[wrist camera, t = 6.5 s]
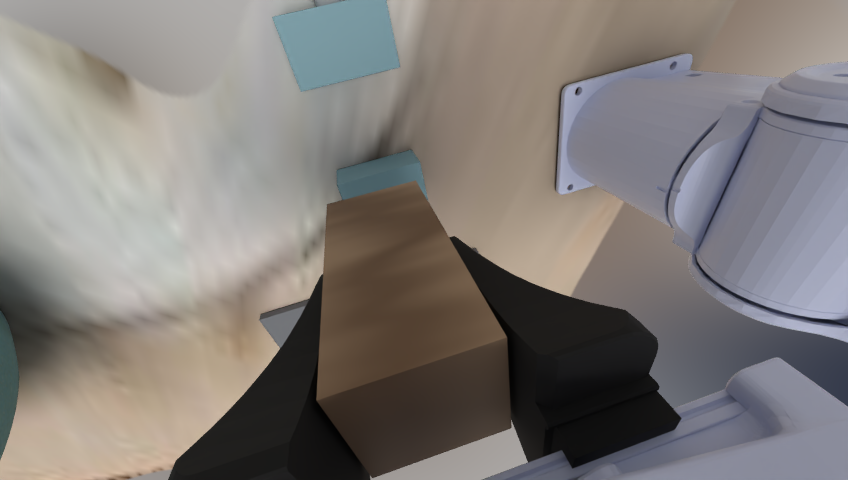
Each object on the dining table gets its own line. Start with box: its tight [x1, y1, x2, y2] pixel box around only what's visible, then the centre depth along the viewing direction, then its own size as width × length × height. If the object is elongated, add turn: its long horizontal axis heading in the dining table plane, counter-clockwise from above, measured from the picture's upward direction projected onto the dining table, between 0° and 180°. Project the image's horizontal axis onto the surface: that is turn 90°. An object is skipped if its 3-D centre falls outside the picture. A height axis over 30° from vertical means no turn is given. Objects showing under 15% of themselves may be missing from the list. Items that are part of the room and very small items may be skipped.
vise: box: [272, 0, 428, 201], centre depth 16 cm, size 6×17×2 cm, turn 12°
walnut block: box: [316, 180, 511, 478], centre depth 11 cm, size 4×4×9 cm
